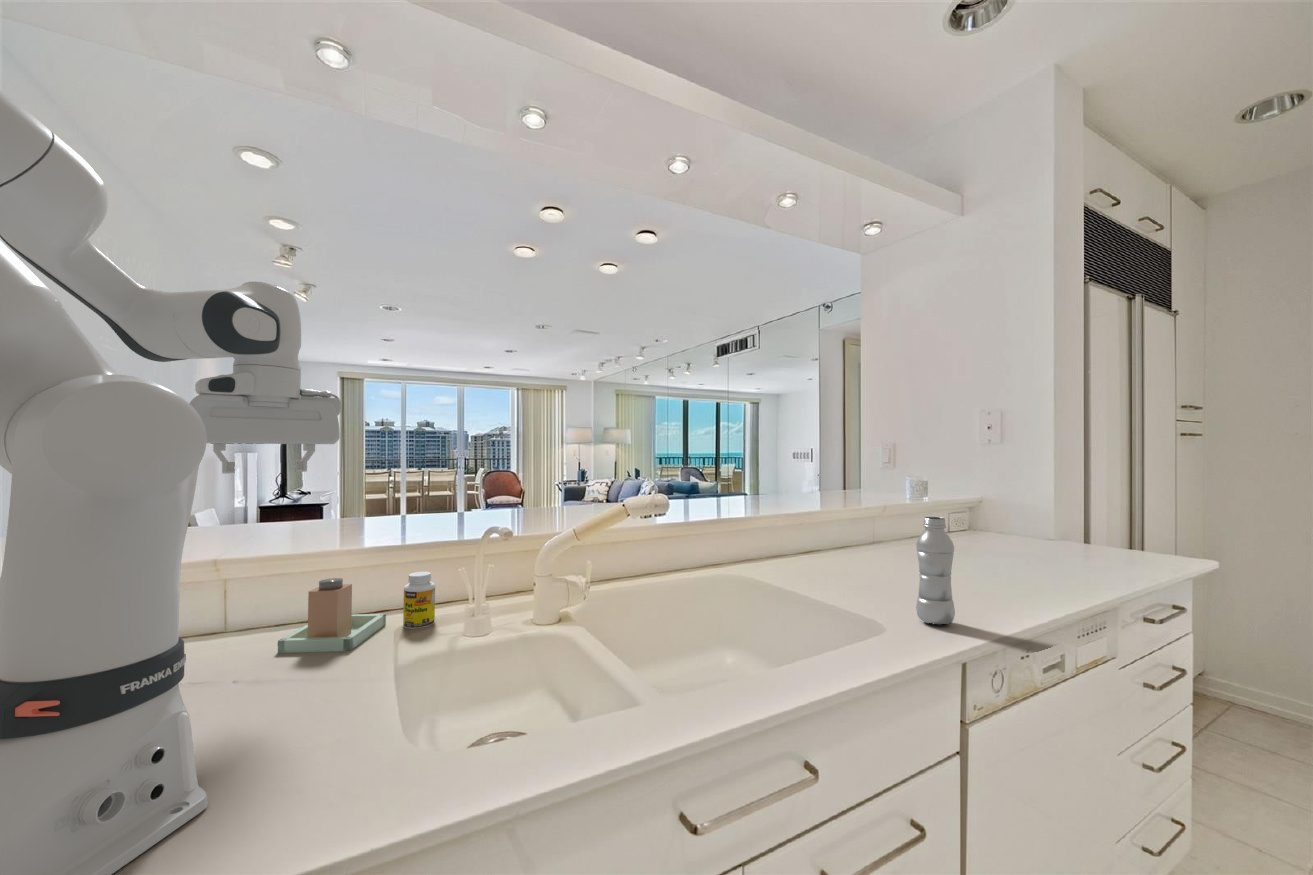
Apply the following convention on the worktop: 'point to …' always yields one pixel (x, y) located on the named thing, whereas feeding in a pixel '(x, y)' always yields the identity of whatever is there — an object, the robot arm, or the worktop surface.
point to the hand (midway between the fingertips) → (265, 472)
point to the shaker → (330, 609)
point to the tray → (360, 631)
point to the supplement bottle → (419, 601)
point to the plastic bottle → (935, 573)
